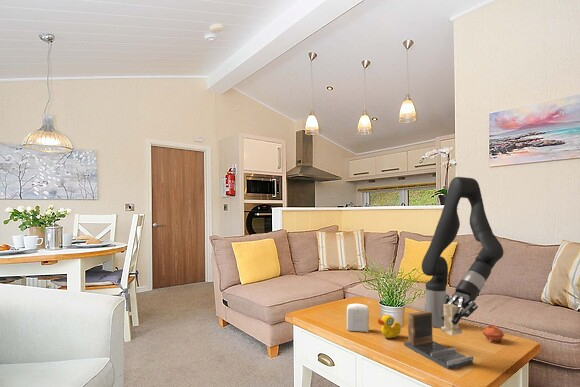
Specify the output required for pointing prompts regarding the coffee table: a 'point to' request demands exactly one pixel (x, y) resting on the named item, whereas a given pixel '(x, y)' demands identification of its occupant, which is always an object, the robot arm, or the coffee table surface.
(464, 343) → the coffee table surface
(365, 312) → the photo printer
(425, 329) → the dark brown block
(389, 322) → the duckling
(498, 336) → the pot
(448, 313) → the beige pedestal column
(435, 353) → the grey stepped base
